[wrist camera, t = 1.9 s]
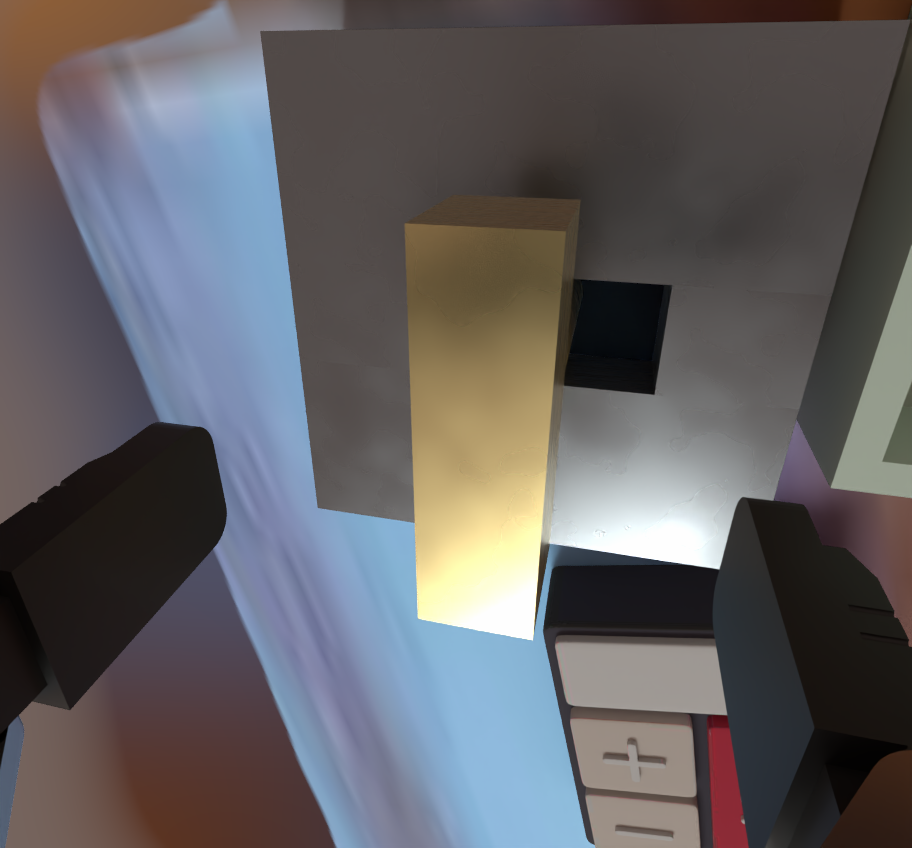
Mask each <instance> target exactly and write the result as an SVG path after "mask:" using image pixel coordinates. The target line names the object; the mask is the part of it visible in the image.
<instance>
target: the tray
mask: <svg viewBox="0 0 912 848" xmlns="http://www.w3.org/2000/svg"><path fill="white" fill-rule="evenodd" d="M908 20H910V24H909V27H908V31H907V34H906V38H905V41H904V45H903V48H902V52H901V55H900V59H899V62H898V66H897V69H896V73H895V76H894V80H893V83H892V87H891V90H890V94H889V97H888V101H887V104H886V107H885V111H884V114H883V118H882V121H881V125H880V128H879V132H878V135H877V139H876V142H875V146H874V149H873V153H872V156H871V160H870V163H869V167H868V170H867V174H866V177H865V181H864V184H863V188H862V191H861V195H860V198H859V202H858V205H857V209H856V212H855V216H854V219H853V223H852V226H851V230H850V233H849V237H848V240H847V244H846V247H845V251H844V254H843V258H842V261H841V265H840V268H839V272H838V275H837V279H836V282H835V286H834V289H833V293H832V296H831V300H830V303H829V307H828V310H827V314H826V317H825V321H824V324H823V328H822V331H821V335H820V338H819V342H818V345H817V349H816V352H815V356H814V359H813V363H812V366H811V370H810V373H809V377H808V380H807V384H806V387H805V391H804V394H803V398H802V401H801V405H800V408H799V412H798V415H797V421H798V423H799V425H800V427H801V429H802V431H803V433H804V435H805V438H806V440H807V442H808V444H809V446H810V448H811V450H812V452H813V454H814V456H815V458H816V460H817V462H818V464H819V466H820V468H821V470H822V472H823V474H824V476H825V478H826V480H827V482H828V484H829V486H830V488H835V489H843V490H851V491H859V492H867V493H875V494H884V495H892V496H900V497H908V498H912V6H911V9H910V13H909V16H908Z"/></svg>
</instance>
